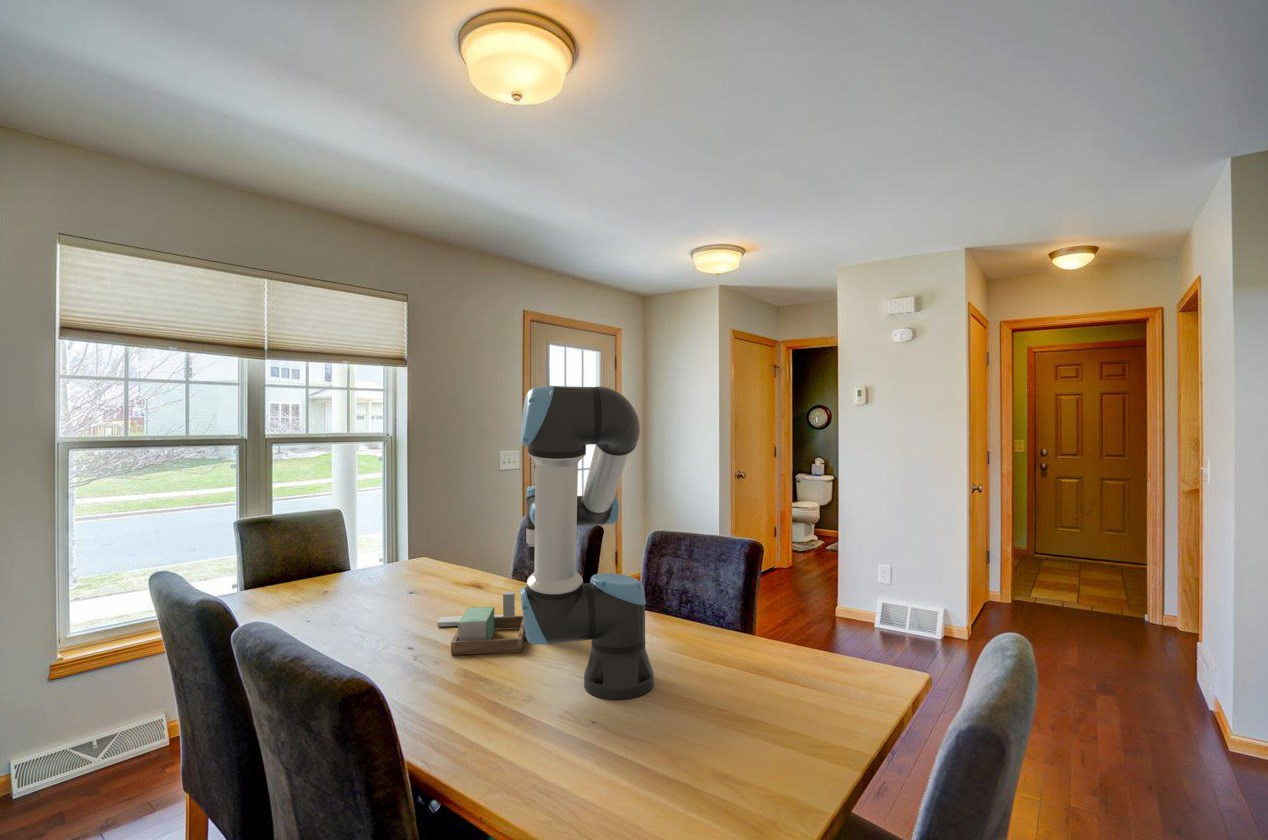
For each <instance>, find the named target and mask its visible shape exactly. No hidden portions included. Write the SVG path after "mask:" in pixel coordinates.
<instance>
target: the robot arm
mask: <svg viewBox="0 0 1268 840" xmlns="http://www.w3.org/2000/svg"><path fill="white" fill-rule="evenodd" d="M524 399H525V400H524V403H523V409H522V414H521V425H520V428H521V429H520V437H519V439H520V444H521V446H524V447H526V448H527V455H528V456H529V457H530V458H531V459H532V460H533V461H534V463H535V467H534V469H535V471H534V472H535V475H534V477H535V478H534V485H529V486H528V487H527V488H526V493H525V494H526V495H525V500H526V501H525V502H526V511H525V512H526V528H525V530H526V532H525V533H526V540H525V541H526V544H527V546H526V558H527V560H528V561H531V562H534V565H533V567H532V568H533V570H532V571H533V572H532V574H530V575H529V576H528V578H527V579H526V586H524V587H522V588H519V595H520V596H519V597H520V602H521V603H520V604H521V612H522V616H523V618H524V625H525V632H526V638H527V639H526V640H527V642H528V643H529V644H530V645H547V646H550V645H551V644H553V645H554V644H561V643H562V644H563V643H571V642H582V641H583V642H584V641H591V650H590V653H589V657H588V660H587V664H586V667H585V670H584V673H583V674H584V675H583V686H584V689H585V691H586V692H588V693H589V694H590V695H593V696H595V697H597V698H602V699H604V700H605V699H606V700H629V699H634V698H638V697H641V696H644V695H646V694H647V693H649V692H650V691H651V690H652V689H653V688H654V684H655V679H654V676H655V674H654V670H653V666H652V664H651V661H650V658H649V655H648V652H647V649H646V604H647V601H646V596H645V595H646V592H645V587H644V584H643V582H642V581H641V580H639V579H637V578H636V577H633V576H630V575H625V574H620V573H619V574H618V573H611V572H604V573H603V572H602V573H595V574H593V575H592V576H591V578H590V580H589V581H590V582H587V583H584V581H583V577H582V576H581V574H580V573H579V572H578V571H577V568H576V567H577V535H578V534H577V533H578V532H577V528H578V527H581V526H583V527H584V526H606V525H611V524H613V525H614V524H615V523H617V521H618V520H619V513H620V509H619V507H620V506H619V500H618V497H617V496H616V494H617V490H618V487H619V484H620V481H621V477H622V475H623V473H624V472H623V471H624V468H625V466H626V463H627V459H628V456H629V455H630V454H632V453H633V452H634V450H635V449H636V447H637V444H638V442H639V439H640V434H641V433H640V432H641V426H640V420H639V416H638V414H637V411H636V410H635V408H634V406H633V405H632V404H631V402H630V401H629V400H628V399H627V398H626V397H625V396H624V395H623V394H621V393H620V392H618V391H617V390H614V389H612V388H609V387H605V386H561V385H559V386H555V385H554V386H553V385H550V386H538V387H536V386H535V387H533V388H530V389H529V390H528V391H527V393H526V396H525V398H524ZM589 445H594V450H593V453H592V457H591V458H592V459H591V462H590V466H589V470H588V475H587V477H586V482H585V486H584V491H583V494H582V495H578V482H579V481H578V480H579V479H578V478H579V473H578V471H579V462H580V461H581V460H582V459H583V458H584V457H585V456H587V446H589Z"/></svg>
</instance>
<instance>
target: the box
mask: <svg viewBox="0 0 1268 840" xmlns="http://www.w3.org/2000/svg"><path fill="white" fill-rule="evenodd" d="M494 615H495V607H494V606H475V607H469V608H467V609H466V610H465V611H464V613H463V615H461V616H462V618H461V619H460V621H459V622H458V626H457V631H458V641H466V640H488V639H493V637H494V634H495V629H494Z"/></svg>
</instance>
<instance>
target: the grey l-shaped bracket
mask: <svg viewBox="0 0 1268 840" xmlns="http://www.w3.org/2000/svg"><path fill="white" fill-rule="evenodd" d="M502 598H503V599H502V612H503V613H501V614H494V617H504V616H516V592H515V590H513V591H504V592H503V594H502ZM462 616H463V615H454V616H441V617H440V618H439V620H438V621H437V624H436V625H437V627H442V628H443V627H458V622H459V621H460V619H461V618H462Z"/></svg>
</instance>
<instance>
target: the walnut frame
mask: <svg viewBox="0 0 1268 840" xmlns="http://www.w3.org/2000/svg"><path fill="white" fill-rule="evenodd" d="M499 629H501V630H502V629H503V630H504V629H519V631H518V634H517V635H518V636H517V637H512V638H492V639H488V640H466V641H458V630H457V631H456V633H455V634H454V635H453V638H452V641H450V655H452V656H455V655H457V656H458V655H476V654H478V655H479V654H495V653H515V652H516V653H519V652H522V650H523V646H524V641H525V640H527V638H526V632H525V625H524V618H523V615H515V616H504V617H494V630H499Z"/></svg>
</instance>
